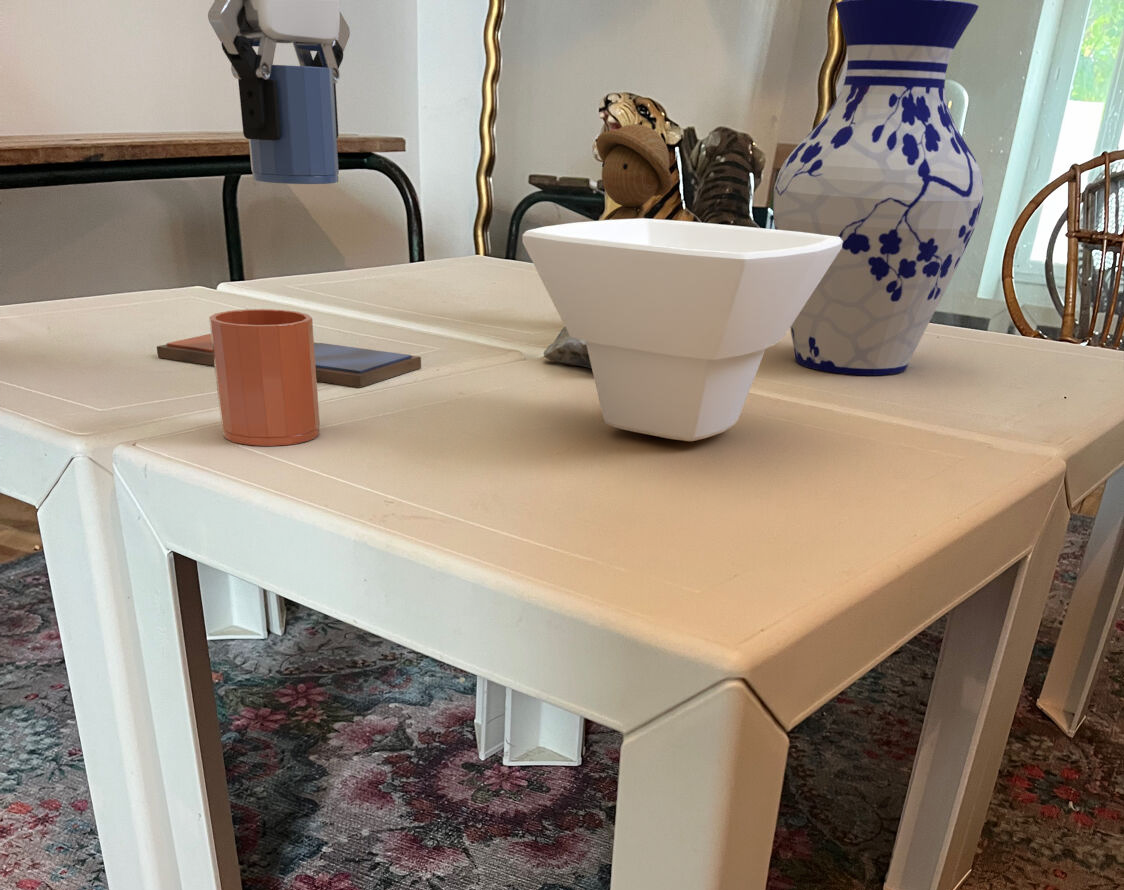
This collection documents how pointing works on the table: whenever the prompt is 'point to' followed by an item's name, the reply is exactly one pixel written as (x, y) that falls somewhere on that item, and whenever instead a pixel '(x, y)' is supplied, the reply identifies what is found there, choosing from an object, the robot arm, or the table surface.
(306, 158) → the blue cup
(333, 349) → the board
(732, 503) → the table surface
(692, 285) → the bowl
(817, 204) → the vase
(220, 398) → the terracotta cup
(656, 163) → the figurine
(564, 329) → the rock
